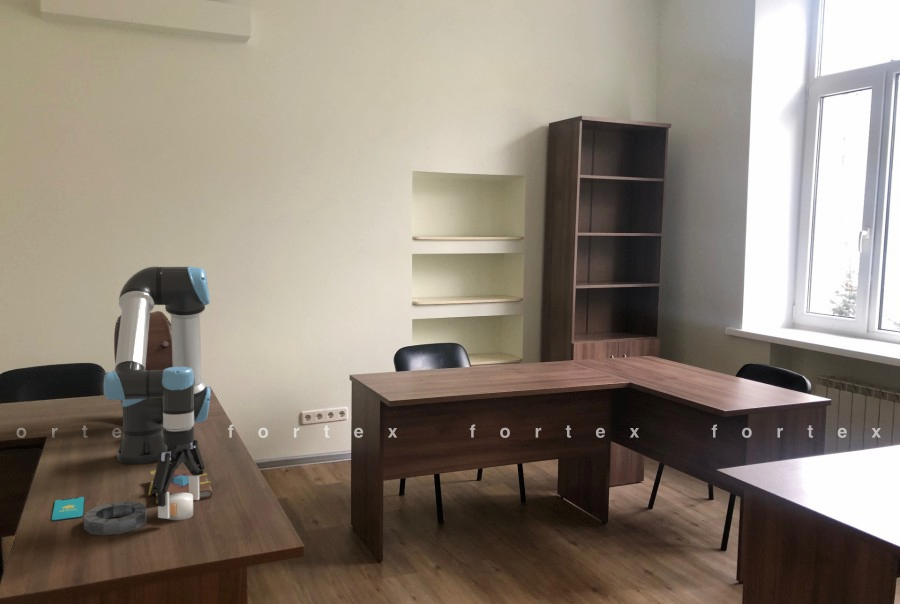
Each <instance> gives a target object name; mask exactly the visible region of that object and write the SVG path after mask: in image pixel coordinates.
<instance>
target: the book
mask: <svg viewBox="0 0 900 604" xmlns="http://www.w3.org/2000/svg"><path fill="white" fill-rule="evenodd" d="M149 473H150V475H151V476H153V478H150V482H151V483H149V489H148V493H147V495H148V496H152V495H155V497H156V501H155V504H157V501H158V500H157V493H151V489H152V485H153V481H154V477H155V473H156V470H152V471H150V472H149ZM189 475H192V474H191V473H190V472H189V470H188V469H179V470H177V469H176V470H175V472H174V475H173V477H172V480H171V482H170V485H169V488H168V490H167V492H169V495H171V494H174V493H181V492H185V493H189ZM208 480H209V479H208V473H203V475H199V483H200V484H199V498H200V499H199V500H206V499H211V498H212V496H213V490H212V487H211V485H212V484H211V483H212V481H208ZM156 488H157V487H156Z"/></svg>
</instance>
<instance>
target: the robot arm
mask: <svg viewBox="0 0 900 604" xmlns="http://www.w3.org/2000/svg"><path fill="white" fill-rule="evenodd" d="M210 301H211V300H210V291H209V282H208V277H207V272H206V270H205V269H204V268H202V267H193V266H149V267H145V268H142V269H140V270H139V271H137V272H135V273H134V274H133V275H132V276H131V277H130V278H129V279H128V280H127V281H126V282H125V284H124V285H123V287H122V289H121V290H120V293H119V299H118V306H119V308H120V309H121V314H120V316H121V321H120V329H119V338H118V346H117V355H116V363H115V362H114V364H115V365H114V370H111V371H107V372H105V375H104V379H103V393H104V397H105V398H106V400H110V401H121V400H123V404H121V407H123V408H122V438H121V441H120V444H119V447H118V450H117V461H118V462H119V463H122V464H130V465H139V464H140V465H142V464H149V463H150V464H151V463H154V462H157V466H156V469H155V471H156V473H155V477H154V476H153V478H154V481H153V483H152V484H153V485H152V489H151V493H153V494H155V493H157V498H156V500H158V501H157V503H156V504H157V518H159V519H167V520H169V519H168V518H170V514H169V492H167V490H168V488H169V485H170V482H171V480H172V477H173V475H174V472H175V470H177V469H178V468H179V467H180V466H181V465H182V463H183V464H184V465H185V467H186V470H189V472H190V473H191V474H192V475H189V493H191V494H192V495H193V501H199V500H201V499H200V498H199V484H200V483H199V475H203V474H205V473H204V470H205V463H204V461H203V458H202V456H201V452H200V449H199V442H198V440H197V439H195V428H194V427H193V426H195V424H196V423H203V422H205V421H206V420H207V418H208V416H209V410H210V402H211V387H210V386H207V383H206V381H205V380H204V379H203V378H202V367H201V366H202V365H201V363H202V362H201V361H202V359H201V357H202V356H201V353H202V352H201V314H202V313H203V312H204V311H205V310H206V306H208V305H210V303H211V302H210ZM156 305H157V306H165V312H166V313H167V314H169V315H170V323H171V337H172V367H170V368H167V369H165V370H145V368H146V355H147V343H148V330H149V317H150V313H151V312H153V310H154V307H155V306H156ZM162 425H163V427H164V428H165V429H164V430H163V434H162ZM156 487H157V488H156Z"/></svg>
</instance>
